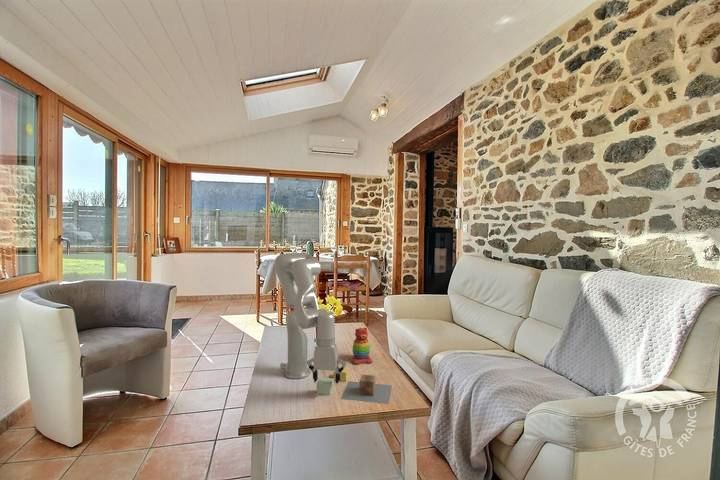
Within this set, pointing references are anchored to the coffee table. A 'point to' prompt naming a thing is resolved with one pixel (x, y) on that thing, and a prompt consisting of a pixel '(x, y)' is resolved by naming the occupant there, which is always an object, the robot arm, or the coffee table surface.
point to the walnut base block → (367, 385)
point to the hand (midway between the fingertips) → (326, 381)
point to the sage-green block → (325, 386)
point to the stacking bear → (361, 347)
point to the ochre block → (342, 374)
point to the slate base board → (379, 396)
